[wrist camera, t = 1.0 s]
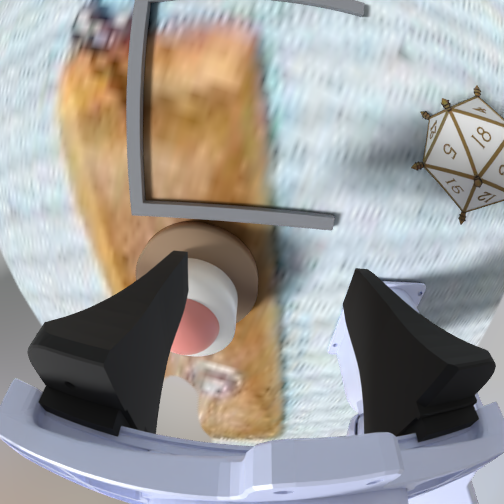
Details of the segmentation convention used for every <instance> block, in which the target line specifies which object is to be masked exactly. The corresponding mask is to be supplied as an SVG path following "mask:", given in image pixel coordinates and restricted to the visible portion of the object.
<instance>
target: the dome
mask: <svg viewBox="0 0 504 504" xmlns="http://www.w3.org/2000/svg"><path fill="white" fill-rule="evenodd" d="M188 286H189V291H188V296H187V301H186V305H185V310H184V313H183V316H182V319H181V321H180V324H179V327H178V330H177V333H176V336H175V338H174V341H173V344H172V347H171V350H170V351H171V352H174V353H176V354H181V355H186V356H206V355H211V354H214V353H216V352H219V351H221V350H222V349H224V348H225V347H226V346H228V344H229V343H230V342H231V341H232V339H233V337H234V334H235V326H236V315H237V304H238V296H237V291H236V288H235V286H234V284H233V282H232V281H231V279H230V278H229V277H228V276H227V275H226V274H225V273H224V272H223V271H222V270H221V269H219V268H218V267H216V266H214V265H212V264H210V263H208V262H205V261H203V260H199V259H194V258H188Z"/></svg>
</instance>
